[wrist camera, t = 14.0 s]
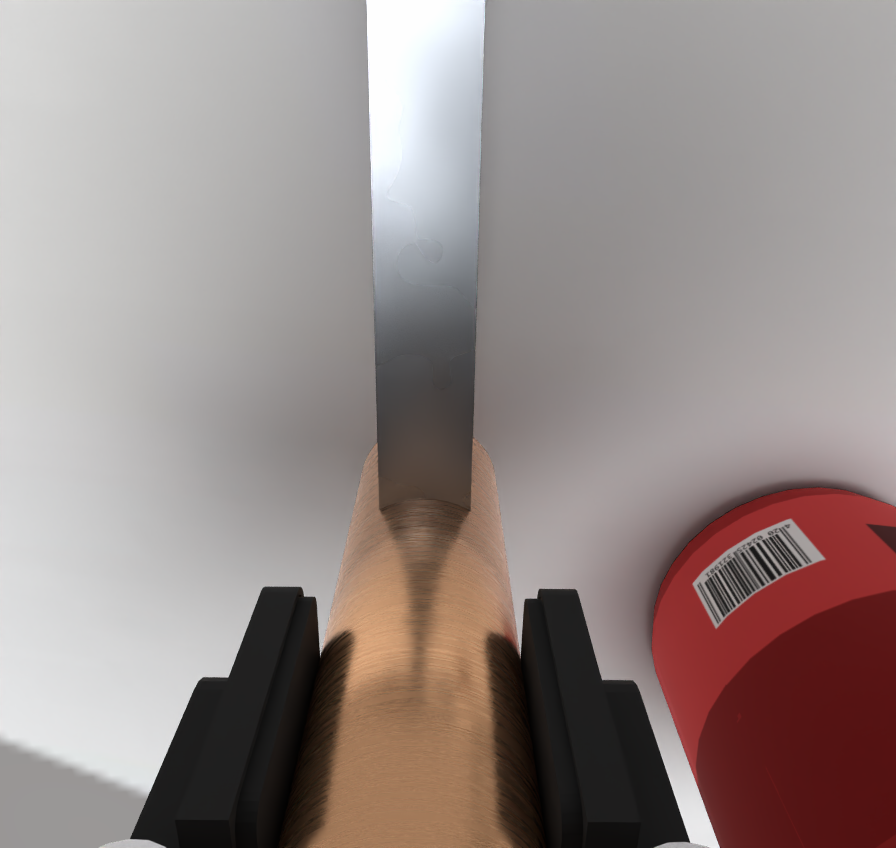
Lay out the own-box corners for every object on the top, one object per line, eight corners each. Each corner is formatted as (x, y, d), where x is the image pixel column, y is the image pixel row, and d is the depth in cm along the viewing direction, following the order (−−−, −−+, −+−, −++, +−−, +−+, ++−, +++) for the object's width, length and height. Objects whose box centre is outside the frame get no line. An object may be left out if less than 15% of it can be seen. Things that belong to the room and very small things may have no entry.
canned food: (613, 701, 22) (756, 1210, 12) (689, 455, 19) (969, 856, 9) (864, 732, 22) (1208, 1247, 12) (977, 497, 19) (1558, 923, 9)
